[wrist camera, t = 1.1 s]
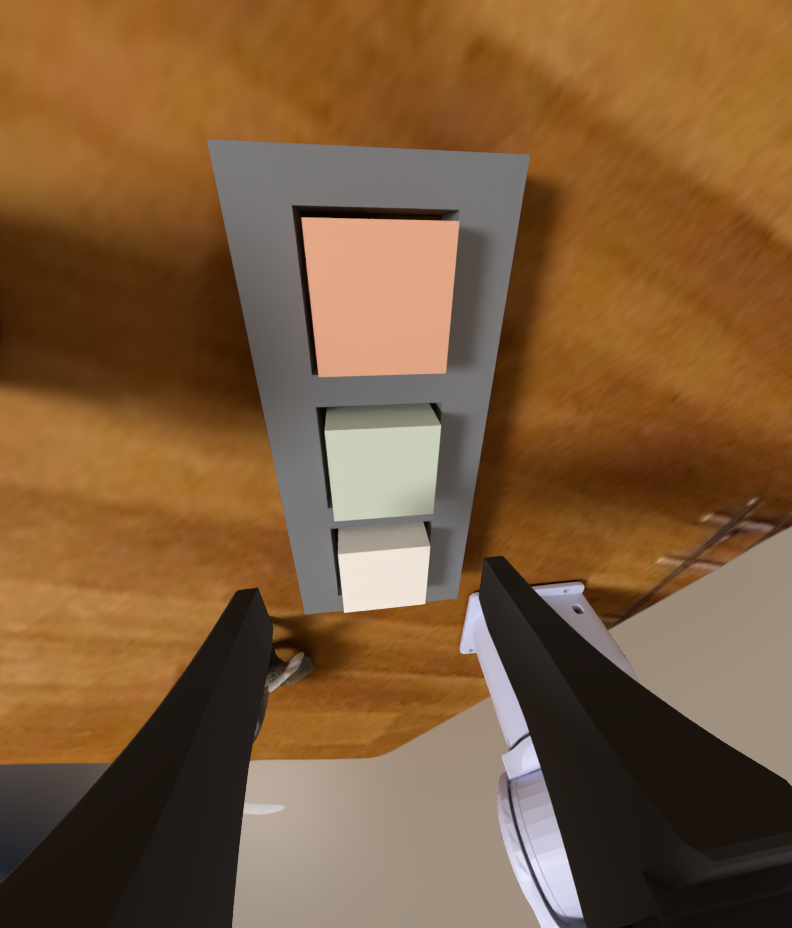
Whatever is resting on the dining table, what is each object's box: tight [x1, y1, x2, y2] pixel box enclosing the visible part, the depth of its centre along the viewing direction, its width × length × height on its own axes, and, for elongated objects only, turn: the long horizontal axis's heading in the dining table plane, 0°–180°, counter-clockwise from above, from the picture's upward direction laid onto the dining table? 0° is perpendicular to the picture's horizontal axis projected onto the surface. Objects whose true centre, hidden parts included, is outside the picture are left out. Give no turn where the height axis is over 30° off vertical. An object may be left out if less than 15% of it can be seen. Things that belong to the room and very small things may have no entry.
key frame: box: [207, 139, 530, 615], centre depth 18 cm, size 10×23×2 cm, turn 179°
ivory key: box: [338, 521, 430, 613], centre depth 20 cm, size 5×5×3 cm
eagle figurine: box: [253, 639, 315, 743], centre depth 25 cm, size 8×7×9 cm
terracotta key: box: [301, 217, 459, 377], centre depth 13 cm, size 5×5×3 cm
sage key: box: [325, 403, 441, 521], centre depth 17 cm, size 5×5×3 cm
